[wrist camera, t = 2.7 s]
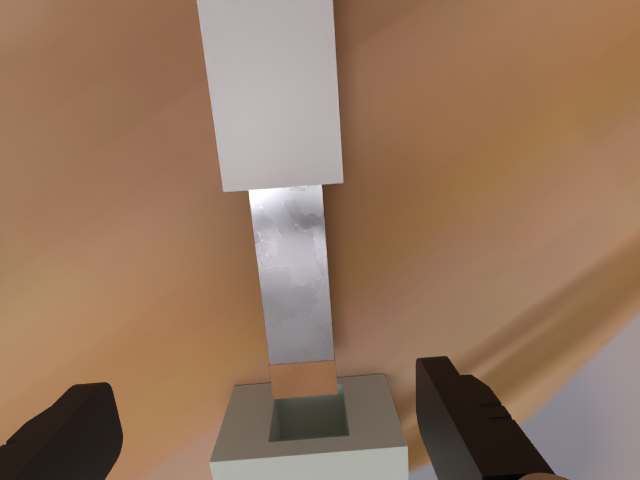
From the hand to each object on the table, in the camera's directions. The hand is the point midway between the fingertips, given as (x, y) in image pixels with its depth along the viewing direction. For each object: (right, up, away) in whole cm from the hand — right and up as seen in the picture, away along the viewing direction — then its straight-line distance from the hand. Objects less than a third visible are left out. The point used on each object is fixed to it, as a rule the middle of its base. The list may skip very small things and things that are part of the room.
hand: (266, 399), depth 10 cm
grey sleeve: (-1, +16, +14) cm, 21 cm away
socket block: (+1, -10, +20) cm, 22 cm away
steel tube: (-1, +8, +14) cm, 16 cm away
